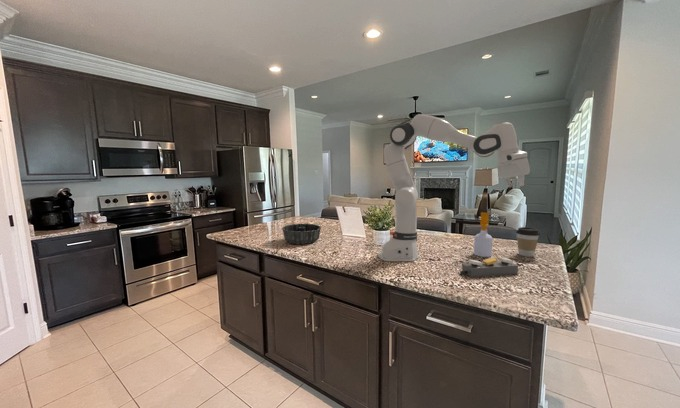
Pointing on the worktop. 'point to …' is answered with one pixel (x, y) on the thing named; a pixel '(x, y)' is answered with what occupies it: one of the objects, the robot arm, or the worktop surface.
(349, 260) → the worktop surface
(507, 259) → the plate
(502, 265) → the power strip
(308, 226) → the bundt pan
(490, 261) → the block
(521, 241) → the coffee cup
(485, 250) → the soap bottle
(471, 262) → the block
